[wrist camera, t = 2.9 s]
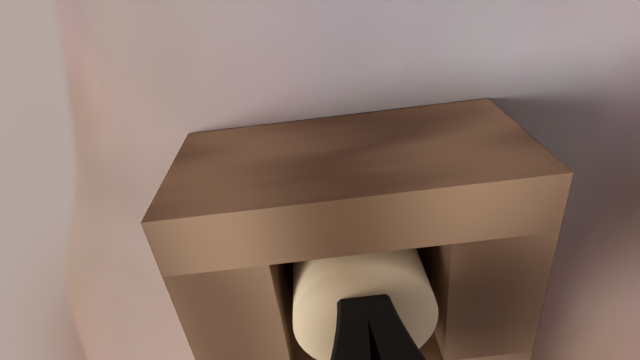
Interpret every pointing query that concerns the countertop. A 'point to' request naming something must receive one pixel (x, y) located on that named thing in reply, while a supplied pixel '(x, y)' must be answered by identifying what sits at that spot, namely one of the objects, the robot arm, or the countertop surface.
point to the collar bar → (361, 224)
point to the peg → (360, 295)
